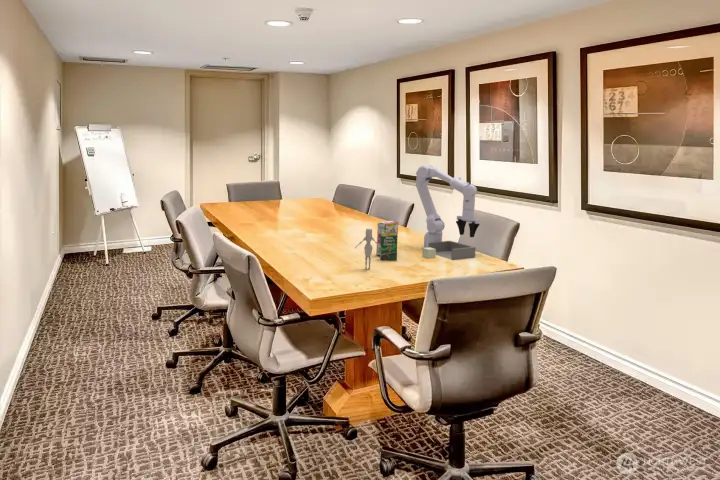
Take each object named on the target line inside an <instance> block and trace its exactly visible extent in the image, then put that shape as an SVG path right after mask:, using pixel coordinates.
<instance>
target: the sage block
mask: <svg viewBox="0 0 720 480" xmlns="http://www.w3.org/2000/svg"><path fill="white" fill-rule="evenodd" d="M436 256H437V255H436V249H434V248H431V247H428V248H422V258H425V259H435V258H436Z"/></svg>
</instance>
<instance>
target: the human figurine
mask: <svg viewBox="0 0 720 480" xmlns="http://www.w3.org/2000/svg"><path fill="white" fill-rule="evenodd" d="M364 241H366V243H365V246H364V249H363V250H364V255H365V257H364V259H365V263H364V264H365V265H364V266H365V268H364V269H365V270H367V269H368V270H371V260H372V258H371V256H372V251H373V245H372V244H371V242H372V241H374V242H375V244H376V245H377V244H378V243H377V240H375V238H374V237H373V229H372V228H366V229H365V236H364V238H363V239H362V240H361V241H359V243H358V244H357V245H356V246H355V247H354V249H357V247H359V246H360V245H361V244H362V243H363V242H364ZM378 245H379V244H378ZM379 246H380V245H379ZM380 247H381V246H380ZM367 265H368V268H367Z"/></svg>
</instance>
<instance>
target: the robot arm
mask: <svg viewBox="0 0 720 480" xmlns="http://www.w3.org/2000/svg"><path fill="white" fill-rule="evenodd" d="M415 175H416V179H415V180H416V181H415V187H416V189H417V192H418V194H419V198H420V201H421V204H422V206H423V209H424V212H425V215H426V220H425V222H426V229H427V232H426V233H425V234H424V237H423V247H421V248H422V249H423V248H428V244H429V243H430V242H441V241H443V230H444V229H445V221H444V220H443V219H442V218H441V216H440V215H439V214H438V212H437V210H436V207H435V204H434V201H433V199H432V196H431V193H430V190H429V188H428V184H429V182H430V180H431V179H432V178H438V179H439V180H441V181H444V182H445V183H448V184H449V186H450V187H451V188H452V189H453V190H455V191H457V192H459V193H461V194H462V197H463V200H462V213H461V215H457V216H456V221H455V223H456V224H457V228H458V232H459V235H460V236H464V235H465V227H466V224H467V222H468V227H469V238H474V237H475V235H476V232H477V229H478V228H479V226H480V219H477V218H475V206H476V203H475V202H476V195H477V192H478V189H477V187H476V185H474V184H472V183H471V184H470V182H468V181H467V182H466V181H464V180H462V178H461V177H457V176H455V177H452V176H450V174H448V173H446V172H444V171H442V170H441V169H439V168H438V167H435V166H433V165H429V164H428V165H421V166H420V167H418V168H417V170H416V172H415Z"/></svg>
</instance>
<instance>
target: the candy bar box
mask: <svg viewBox="0 0 720 480" xmlns="http://www.w3.org/2000/svg"><path fill="white" fill-rule="evenodd" d="M381 232H385V233H392V232H397V239H398V234H399V221H395V220H386V221H380V222H379V221H378V222H377V233H376V236H377V237H376V242H377V243H378V244H379V245H380V233H381ZM378 244H376V252H375V255H376V256H378V257H380V246H379V245H378Z"/></svg>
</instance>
